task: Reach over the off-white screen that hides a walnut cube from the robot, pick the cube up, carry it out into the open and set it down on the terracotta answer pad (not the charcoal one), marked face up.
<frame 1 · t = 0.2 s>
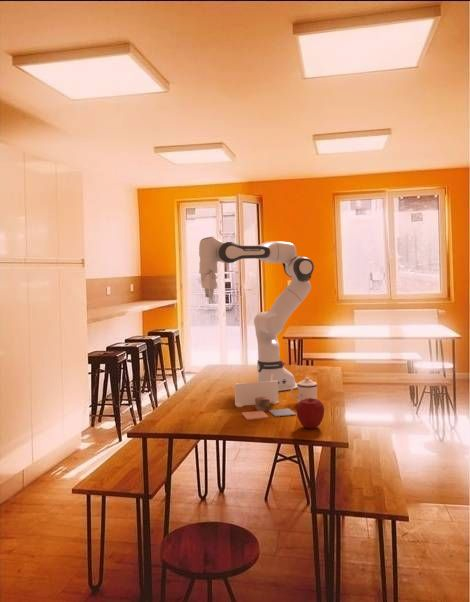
hand: (209, 297, 256), 48 cm above the table, fingers open, 8 cm apart
letter cube: (262, 409, 226), on the table
teacup with lid: (304, 403, 235), on the table
apple: (310, 428, 198), on the table
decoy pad: (282, 413, 218), on the table
answer pad: (254, 415, 216), on the table
screen: (256, 403, 235), on the table
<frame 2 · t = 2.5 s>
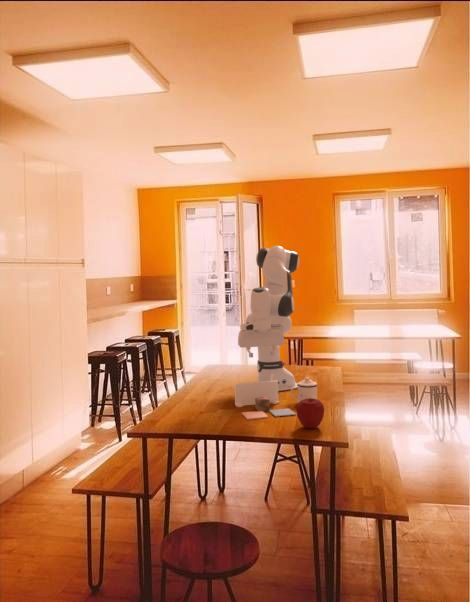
hand: (261, 356, 224), 23 cm above the table, fingers open, 8 cm apart
nothing on the table moved.
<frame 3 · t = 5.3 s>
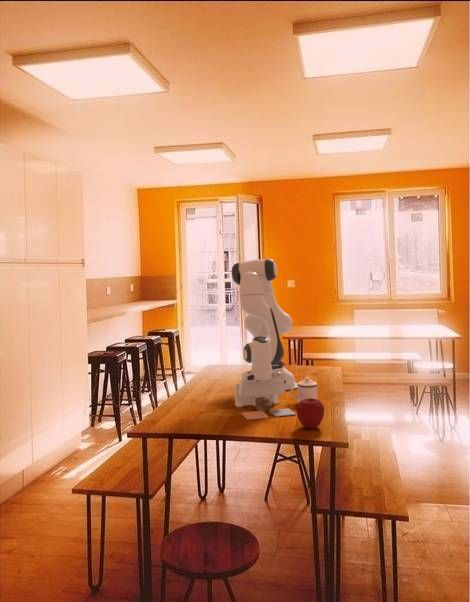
hand: (262, 405, 226), 2 cm above the table, fingers closed on letter cube, 5 cm apart
letter cube: (262, 409, 226), on the table, touching gripper
everything else where it was.
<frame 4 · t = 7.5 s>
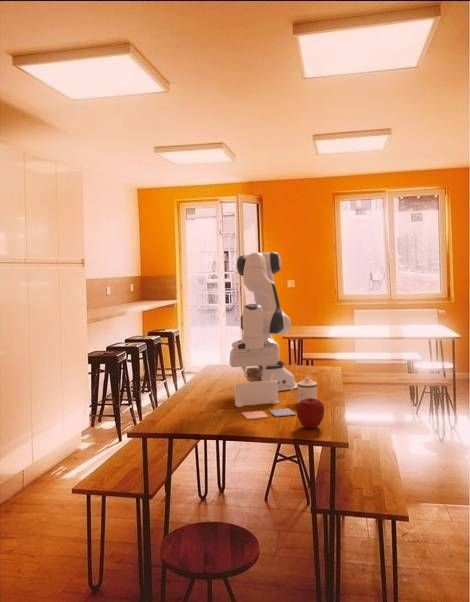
hand: (254, 376, 215), 17 cm above the table, fingers closed on letter cube, 5 cm apart
letter cube: (254, 380, 215), point 15 cm above the table, touching gripper
everything else where it was.
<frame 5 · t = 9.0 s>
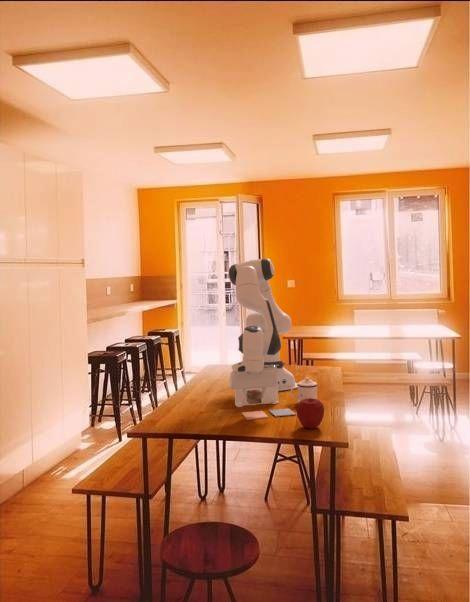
hand: (253, 398, 215), 7 cm above the table, fingers closed on letter cube, 5 cm apart
letter cube: (254, 402, 215), point 6 cm above the table, touching gripper
everything else where it was.
when the fingers open (4 cm above the table, at t = 10.2 s): letter cube drops 1 cm, resting on answer pad.
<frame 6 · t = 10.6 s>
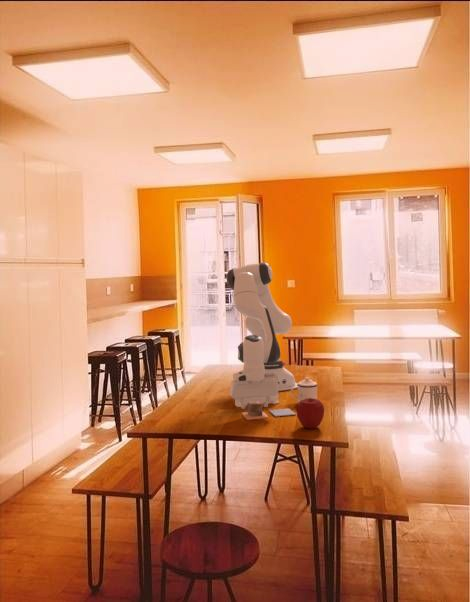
hand: (254, 407, 216), 4 cm above the table, fingers open, 8 cm apart
letter cube: (254, 414, 216), point 1 cm above the table, touching answer pad
everything else where it was.
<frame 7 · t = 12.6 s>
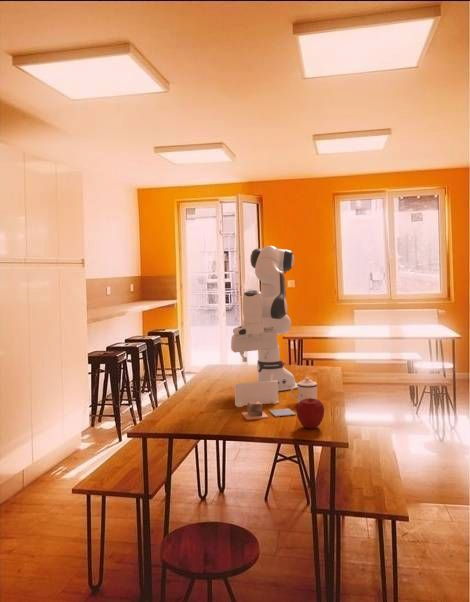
hand: (255, 360, 222), 22 cm above the table, fingers open, 8 cm apart
nothing on the table moved.
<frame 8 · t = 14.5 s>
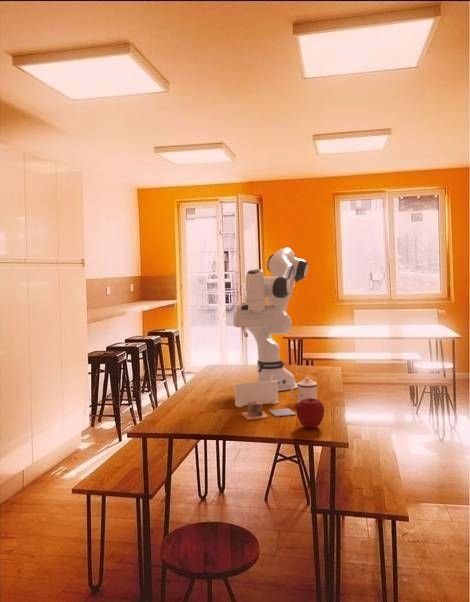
hand: (256, 336, 232), 31 cm above the table, fingers open, 8 cm apart
nothing on the table moved.
at the end: letter cube inside the target area on the answer pad (0.0 cm from its centre), point 0.6 cm above the answer pad's base; letter cube tilted 0°; the gripper is holding nothing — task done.
